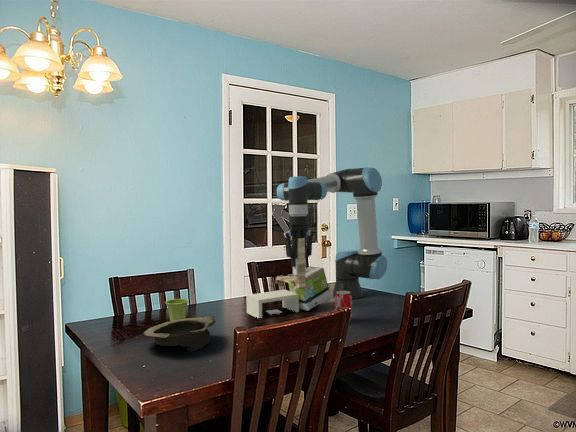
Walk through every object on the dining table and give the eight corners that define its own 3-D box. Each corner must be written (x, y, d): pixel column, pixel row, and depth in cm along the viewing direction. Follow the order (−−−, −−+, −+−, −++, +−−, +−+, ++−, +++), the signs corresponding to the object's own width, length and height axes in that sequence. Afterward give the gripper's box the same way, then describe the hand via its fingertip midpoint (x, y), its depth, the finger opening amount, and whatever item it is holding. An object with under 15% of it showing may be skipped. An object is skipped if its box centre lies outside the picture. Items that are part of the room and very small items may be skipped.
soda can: (351, 323, 177) (351, 294, 176) (334, 323, 178) (333, 293, 178) (352, 319, 184) (352, 290, 183) (335, 318, 185) (335, 290, 185)
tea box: (309, 311, 195) (300, 280, 192) (294, 308, 202) (285, 278, 200) (331, 296, 204) (323, 266, 201) (316, 293, 212) (308, 265, 209)
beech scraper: (308, 287, 177) (307, 237, 176) (296, 289, 174) (295, 238, 173) (287, 281, 191) (286, 235, 190) (275, 283, 188) (274, 236, 187)
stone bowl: (223, 351, 147) (220, 324, 147) (144, 366, 140) (141, 338, 140) (213, 329, 171) (211, 306, 170) (146, 341, 164) (143, 317, 163)
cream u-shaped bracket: (285, 306, 207) (284, 289, 207) (299, 311, 197) (298, 294, 197) (246, 312, 197) (246, 295, 197) (259, 318, 187) (258, 300, 186)
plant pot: (161, 323, 182) (160, 303, 182) (174, 317, 191) (174, 298, 191) (180, 325, 179) (180, 304, 179) (193, 319, 188) (192, 299, 188)
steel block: (277, 311, 200) (277, 309, 200) (282, 314, 195) (282, 311, 195) (265, 313, 198) (265, 310, 197) (270, 316, 193) (270, 313, 193)
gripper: (309, 214, 183) (310, 271, 184) (276, 216, 175) (277, 275, 176) (320, 214, 177) (321, 273, 177) (285, 216, 168) (286, 277, 169)
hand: (299, 274), depth 177 cm, fingers closed on beech scraper, 3 cm apart
